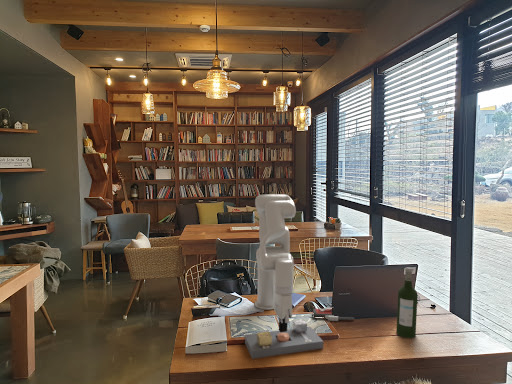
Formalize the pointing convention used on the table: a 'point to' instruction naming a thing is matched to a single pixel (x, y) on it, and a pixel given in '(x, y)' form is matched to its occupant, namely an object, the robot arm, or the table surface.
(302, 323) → the grey slider
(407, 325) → the wine bottle
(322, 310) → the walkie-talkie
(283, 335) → the terracotta button
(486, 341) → the table surface
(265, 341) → the brass slider
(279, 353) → the grey slotted board
